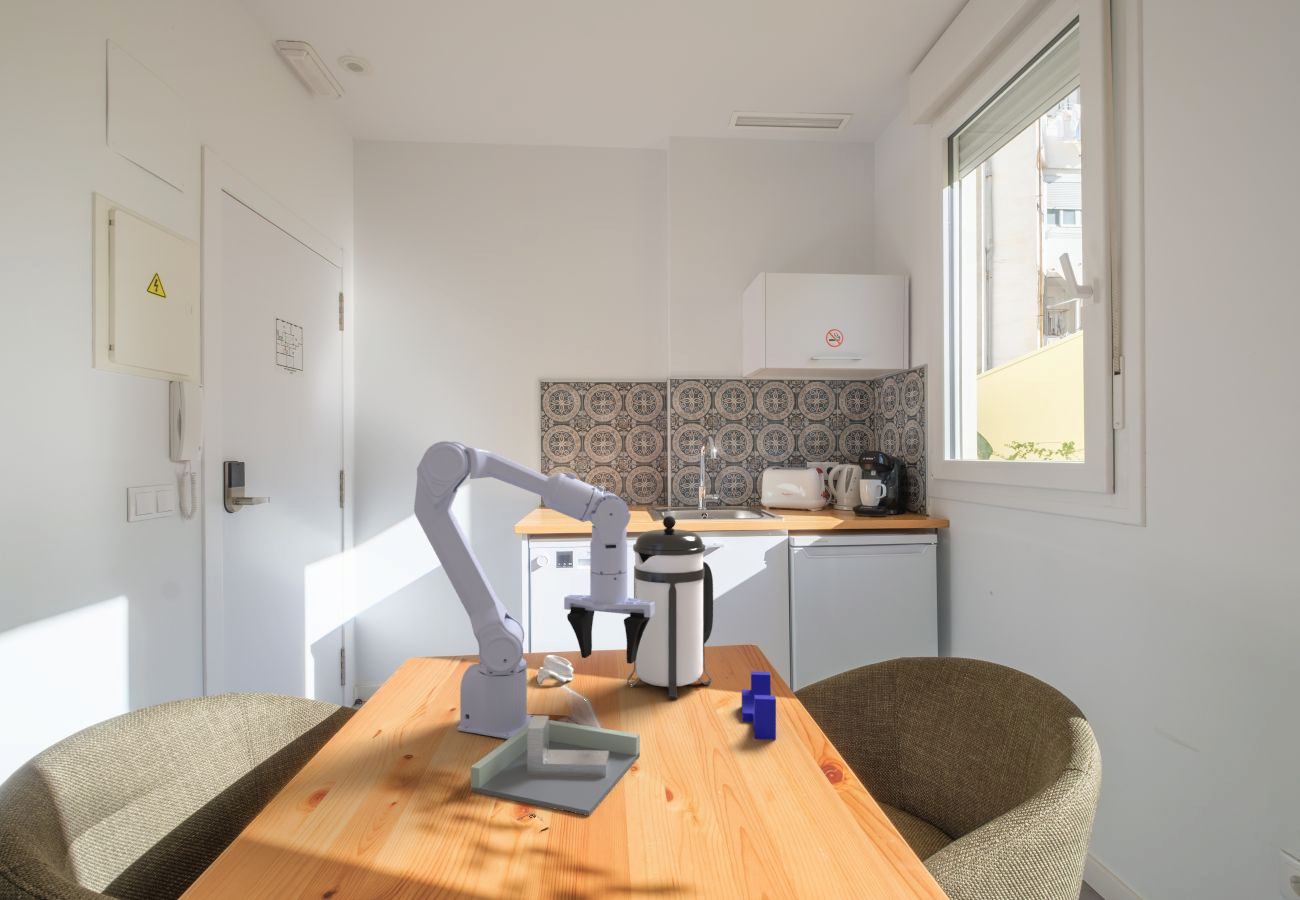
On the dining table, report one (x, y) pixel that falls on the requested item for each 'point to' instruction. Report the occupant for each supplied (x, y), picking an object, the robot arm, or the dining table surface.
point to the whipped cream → (555, 669)
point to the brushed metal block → (560, 755)
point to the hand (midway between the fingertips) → (608, 658)
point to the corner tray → (578, 794)
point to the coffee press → (673, 607)
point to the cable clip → (760, 706)
